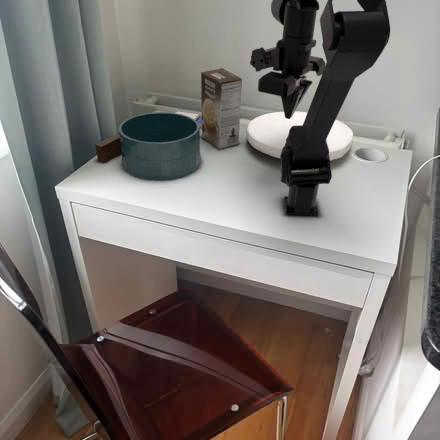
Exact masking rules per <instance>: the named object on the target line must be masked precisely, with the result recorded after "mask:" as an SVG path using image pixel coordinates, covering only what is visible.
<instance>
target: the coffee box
mask: <svg viewBox="0 0 440 440" xmlns="http://www.w3.org/2000/svg"><path fill="white" fill-rule="evenodd" d="M242 84H243V78H242V77H240V76H238V75H236V74H234V73H232V72H230V71H229V70H227V69H225V68H223V67H221V68H217V69H211V70H206V71H201V73H200V86H201V87H200V90H201V91H200V92H201V93H200V94H201V97H200V99H201V108H200V109H201V111H200V114H201V118H202V128H201V138H203V139H204V140H206V142H208V143H210V144H211V145H212V146H214V147H216V148H217V149H218V150H221V149H225V148H226V149H227V148H229V147H232V146H238V145H239V142H240V126H241V125H240V123H241V105H242V104H241V103H242V87H243V86H242Z"/></svg>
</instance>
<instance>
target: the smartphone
mask: <svg viewBox="0 0 440 440" xmlns="http://www.w3.org/2000/svg"><path fill="white" fill-rule="evenodd" d="M174 113H177V114H182V115H186V116H188V117H191V118H193V119H194V120H196V121H198V120H199V119H200V114H199V113H194V112H188V111H180V110H177V111H175V112H174Z"/></svg>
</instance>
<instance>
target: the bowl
mask: <svg viewBox="0 0 440 440" xmlns="http://www.w3.org/2000/svg"><path fill="white" fill-rule="evenodd" d="M197 121H198V120H194V119H193V118H191V117H188V116H186V115H182V114H177V113H175V112H168V111H167V112H166V111H165V112H164V111H155V112H146V113H140V114H137V115H134V116H130V117H128V118H125V120H123V121H122V122H121V123H120V124H119V126H118V133H119V135H120V142H121V149H122V154H121V156H122V164H123V167H124V169H125V171H126V172H127V173H129V174H130V175H132V176H134V177H137V178H140V179H144V180H150V181H169V180H176V179H180V178H183V177H186V176H188V175H191V174H192V173H194V172H195V171H196V170H198V168H199V166H200V163H201V134H200V133H201V132H200V131H201V130H200V129H201V128H200V126H199V124H198V122H197Z"/></svg>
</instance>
